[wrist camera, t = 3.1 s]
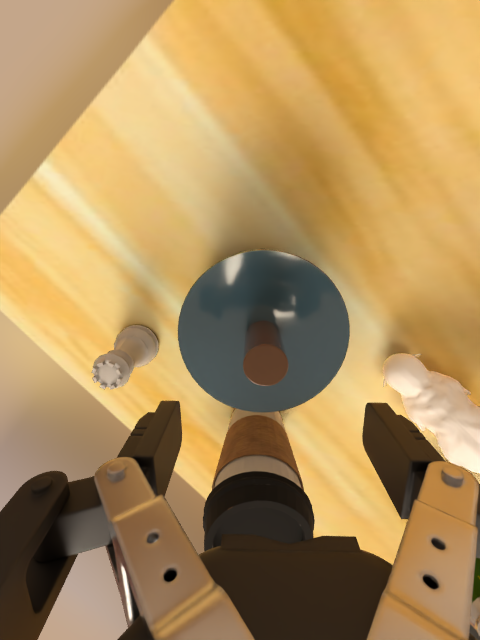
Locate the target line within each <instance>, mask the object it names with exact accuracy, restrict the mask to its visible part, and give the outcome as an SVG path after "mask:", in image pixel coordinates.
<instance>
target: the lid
mask: <svg viewBox="0 0 480 640" xmlns="http://www.w3.org/2000/svg"><path fill="white" fill-rule="evenodd" d="M178 341H179V347H180V351H181V355H182V358H183V361H184V363H185V365H186V367H187V369H188V371H189V372H190V374H191V376H192V377H193V378H194V380H195V381H196V382H197V383H198V385H199V386H200V387H201V388H203V389H204V390H205V391H206V392H207V393H208V394H209V395H211V396H212V397H213V398H215V399H217V400H218V401H220V402H222V403H224V404H226V405H228V406H231V407H233V408H237V409H240V410H244V411H250V412H261V413H266V412H277V411H282V410H286V409H290V408H293V407H296V406H298V405H300V404H302V403H305V402H306V401H308V400H310V399H311V398H313V397H314V396H316V395H317V394H318V393H320V392H321V391H322V390H323V389H324V388H325V387H326V386H327V385H328V384H329V383H330V382H331V380H332V379H333V378H334V377H335V375H336V374H337V372H338V370H339V369H340V367H341V365H342V363H343V360H344V358H345V355H346V352H347V348H348V343H349V318H348V313H347V309H346V306H345V303H344V301H343V298H342V296H341V294H340V292H339V291H338V289H337V288H336V286H335V284H334V283H333V282H332V281H331V280H330V278H329V277H328V276H327V275H326V274H325V273H324V272H322V271H321V270H320V269H319V268H318V267H316V266H315V265H313V264H312V263H310V262H309V261H307V260H305V259H303V258H301V257H299V256H297V255H293V254H290V253H287V252H283V251H277V250H264V249H261V250H250V251H246V252H241V253H238V254H235V255H232V256H230V257H227V258H225V259H223V260H222V261H220V262H218V263H216V264H215V265H214V266H212V267H211V268H209V269H208V270H207V271H206V272H205V273H204V274H203V275H202V276H201V277H200V278H199V279H198V280H197V281H196V282H195V284H194V285H193V286H192V288H191V289H190V291H189V293H188V294H187V296H186V298H185V301H184V303H183V305H182V308H181V312H180V316H179V323H178Z"/></svg>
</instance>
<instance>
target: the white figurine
mask: <svg viewBox="0 0 480 640" xmlns="http://www.w3.org/2000/svg"><path fill="white" fill-rule="evenodd" d="M418 355H421V354H413V355H409V354H405V353H400V354H394V355H391V356H389V357H388V358H387V359H386V360H385V362H384V365H383V375H384V382H383V387H384V385H385V381H386V383H388V384H389V385H390V386H391V387H392V388H393V389H395V390H396V391H398V392H399V393H401V397H402V402H403V405H404V408H405V411H406V414H407V415H408V416H409V418H410V419H411V420H412V421H413V422H415V423H416V424H417V425H418V427H419V428H420V429H421V430H422V431H425V428H427V429H428V430H430V431H431V432H432V433H433V434H434V435H435V436H436V438H437V442H438V445H439V447H440V448H441V449H442V452H443V454H444V456H445V457H446V458H447V460H448V461H450V462H451V463H452V464H455V465H458V466H462V467H464V468H466V469H468V470H470V471H472V472H477V473H480V407H479V406H477V405H475V404H474V403H473V402H472V401H471V400H470V399H469V398H468V397H467V395H471V392H470V391H468V390H467V389H465V388H464V387H462V386H461V384H460V382H459V381H457V380H455V379H453V378H452V377H450V376H447V375H443V374H440V373H438V372H435V371H428V370H427V369H426V367H425V366H424V365H423V363H422V362H421V361H420V360H418V359H417V358H416V357H419V356H418Z"/></svg>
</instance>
